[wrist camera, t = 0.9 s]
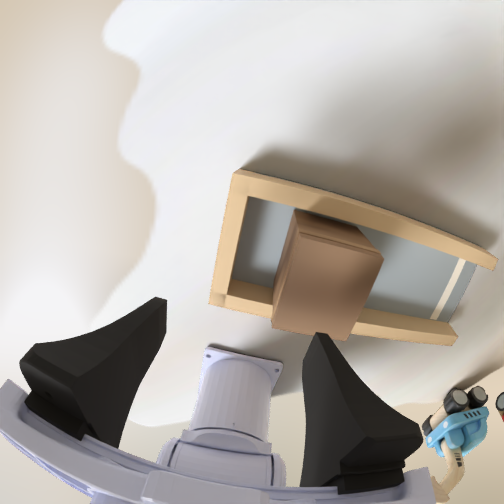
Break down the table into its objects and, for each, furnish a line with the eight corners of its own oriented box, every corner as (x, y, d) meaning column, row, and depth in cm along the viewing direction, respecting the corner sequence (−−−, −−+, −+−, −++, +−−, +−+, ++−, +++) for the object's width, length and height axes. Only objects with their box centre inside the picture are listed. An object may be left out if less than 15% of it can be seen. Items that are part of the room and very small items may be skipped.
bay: (440, 328, 23) (452, 345, 20) (216, 284, 23) (208, 303, 20) (481, 246, 19) (498, 259, 17) (239, 168, 19) (232, 173, 16)
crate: (332, 294, 22) (346, 341, 16) (272, 281, 22) (270, 328, 16) (357, 226, 19) (385, 258, 14) (293, 208, 19) (300, 235, 14)
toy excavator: (415, 391, 27) (450, 497, 11) (484, 382, 27) (521, 457, 11) (386, 425, 31) (405, 520, 15) (457, 414, 30) (483, 486, 14)
